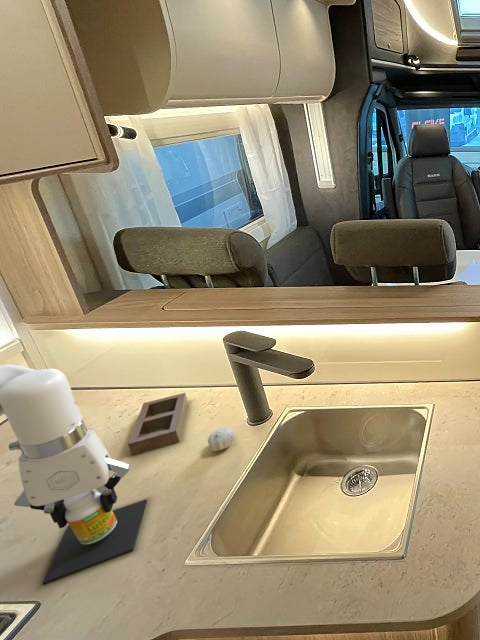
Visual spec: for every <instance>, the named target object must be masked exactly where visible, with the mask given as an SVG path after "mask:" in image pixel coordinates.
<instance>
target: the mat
mask: <svg viewBox="0 0 480 640" xmlns="http://www.w3.org/2000/svg"><path fill="white" fill-rule="evenodd" d="M147 501H148V499H147V498H146V499H142V500H139V501H137V502H134V503H131V504H128V505H125V506H121V507H119V508H115V509H113V510H112V511H113V513H114V515H115V517H116V519H117V524H116V526H115V528H114V529H113V530H112V531H111V532H110V533H109V534H108V535H107V536H106V537H104V538H103V539H101V540H99V541H97V542H95V543H91V544H81V543H80V542H79V540H78V539H77V537H76V535H75V534H74V532H73V530H72V529H71V527H70V526H69V524H67V525H68V526H67V527H66V530H65V532H64V534H63V536H62V539H61V541H60V543H59V545H58V548H57V550H56V552H55V554H54V557H53V559H52V561H51V563H50V566H49V569H48V570H47V573H46V575H45V577H44V579H43V582H42V583H43V585H46V584H49V583H51V582H54V581H57V580H59V579H62V578H65V577H68V576H70V575H72V574H76V573H78V572H81V571H84V570H87V569H88V568H91V567H93V566H96V565H99V564H102V563H105V562H108V561H109V560H112V559H115V558H117V557H121V556H123V555H125V554H129V553H131V552H133V551H135V546H136V543H137V539H138V535H139V531H140V527H141V524H142V520H143V517H144V513H145V509H146V505H147Z"/></svg>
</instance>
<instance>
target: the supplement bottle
mask: <svg viewBox="0 0 480 640" xmlns="http://www.w3.org/2000/svg"><path fill="white" fill-rule="evenodd" d="M100 495H101V493H100V492H97V490H96V489H94V490H91V491H88V492H85V493H82V494H79V495H76V496H72V497H69V498H66V499H65V500H64V505H65V507H66V509H67V510H66V512H65V519H66V521H67V525H69V526H70V527H71V529H72V530H73V532H74V534H75V535H76V537H77V539H78V540H79V542H80V543H81V544H91V543H95V542H97V541H99V540H101V539H103V538H104V537H106V536H107V535H108V534H109V533H110V532H111V531H112V530H113V529H114V528H115V526H116V524H117V519H116V517H115V515H114V513H113V510H111V512H108V513H106V512H105V511H104V508H103V506H102V504H101V501H100Z"/></svg>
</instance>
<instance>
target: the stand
mask: <svg viewBox="0 0 480 640" xmlns="http://www.w3.org/2000/svg"><path fill="white" fill-rule="evenodd" d="M188 405H189V401H188V397H187V394H186V392H183V393H178V394H174V395H170V396H166V397H163V398H157V399H154V400H150V401H146V402H143V403H142V407H141V409H140V412H139V414H138V417H137V420H136V422H135V425H134V427H133V430H132V434H131V436H130V438H129V441H128V448H129V451H130V454H131V456H137V455H139V454H142V453H143V454H144V453H146V452H150V451H154V450H156V449H160V448H164V447H166V446H170V445H173V444H177V443H180V440H181V436H182V432H183V428H184V424H185V419H186V413H187V410H188ZM167 428H168V429H167ZM163 429H164V430H163ZM159 430H161V431H159ZM156 431H158V432H156ZM153 432H154V433H153ZM149 433H151V434H149Z"/></svg>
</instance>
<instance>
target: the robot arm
mask: <svg viewBox="0 0 480 640" xmlns="http://www.w3.org/2000/svg"><path fill="white" fill-rule="evenodd" d="M3 415H5V417H6V419H7V421H8V423H9V426H10V427H11V430H12V432H13V434H14V436H15V439H16V440H14V441H12V442H10V443H9V444H8V450H9V451H11V452H12V451H15V450H16V451H19V450H20V452H21V455H20V456H19V457H18V470H19V475H20V480H21V484H22V488H23V490H22V491H21V493H20V494H19V495H18V496H17V498H16V500H15V502H14V504H13V505H14V506H16V507H22V508H23V507H25V508H28V507H29V508H30V509H32V510H39V511H43V513H44V514H46V515H48V514H49V515H50V517H51V519H52V521H53V523H54V524H57V526H58V528H59V529H63V528H65V527H66V526H67V525H68V522H67V521H66V519H65V512H66V510H67V509H66V507H65V505H64V500H65V499H66V498H69V497H72V496H76V495H79V494H82V493H85V492H88V491H91V490H95V491H96V492H97V493H101V495H100V501H101V504H102V506H103V508H104V511H105V512H106V513H108V512H111V510H112V509H113V506H114V504H116V503H117V502H118V496H117V493H116V490H115V488H116V486H117V485H118V484H119V482H120V481H121V480H122V479H123V478H124V477H125V476H126V475H127V474H128V473H129V471H130V469H131V464H130V463H127V462H123V461H120V460H117V459H112V456H111V455H110V453H109V451H108V448H107V447H106V446H105V444H104V443H103V441H102V440H101V438H100V437H99V436H98V434H96V433H95V431H93V429H88V428H87V426H86V423H85V421H84V419H83V416H82V414H81V411H80V408H79V406H78V403H77V401H76V398H75V396H74V393H73V391H72V388H71V386H70V384H69V381H68V379H67V377H66V374H65V373H64V372H62V371H61V370H59V369H56V368H41V369H34V368H30V367H26V366H24V365H18V364H13V363H11V364H10V363H7V364H5V363H4V364H0V417H2V416H3ZM111 471H112V472H114V473H113V474H112V475H111V476H110V472H111ZM112 511H113V510H112Z"/></svg>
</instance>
